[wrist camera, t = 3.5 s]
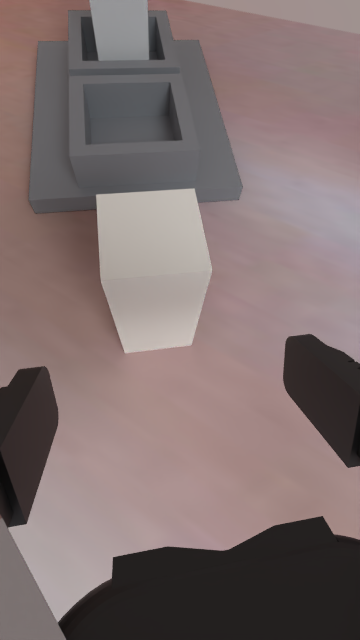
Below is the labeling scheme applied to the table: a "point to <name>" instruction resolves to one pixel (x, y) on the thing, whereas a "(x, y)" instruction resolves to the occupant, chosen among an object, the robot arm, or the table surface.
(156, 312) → the tall white pillar
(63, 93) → the housing
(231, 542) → the table surface
